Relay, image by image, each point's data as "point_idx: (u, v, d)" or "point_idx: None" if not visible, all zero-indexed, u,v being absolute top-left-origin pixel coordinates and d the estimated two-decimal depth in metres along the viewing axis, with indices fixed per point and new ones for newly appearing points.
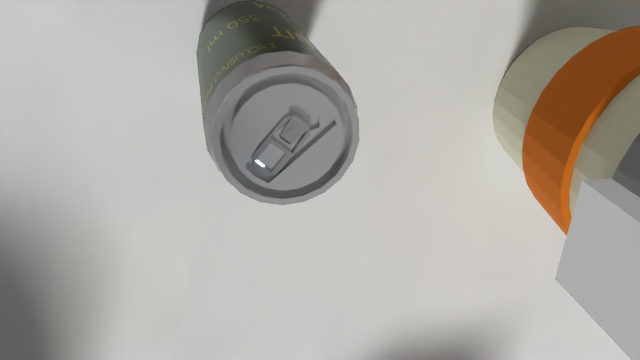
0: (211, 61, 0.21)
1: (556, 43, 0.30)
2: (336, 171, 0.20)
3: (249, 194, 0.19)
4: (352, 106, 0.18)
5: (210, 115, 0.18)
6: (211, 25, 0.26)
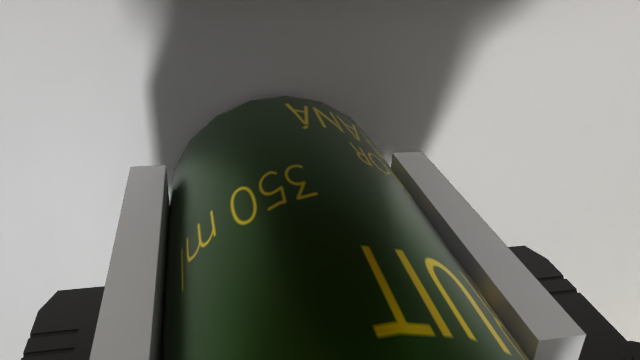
0: None
1: None
2: None
3: None
4: None
5: None
6: (195, 165, 0.11)
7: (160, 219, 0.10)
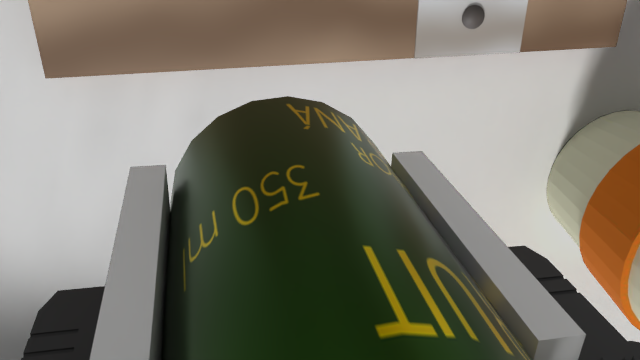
0: None
1: (606, 133, 0.34)
2: None
3: None
4: None
5: None
6: (197, 166, 0.12)
7: (160, 219, 0.10)
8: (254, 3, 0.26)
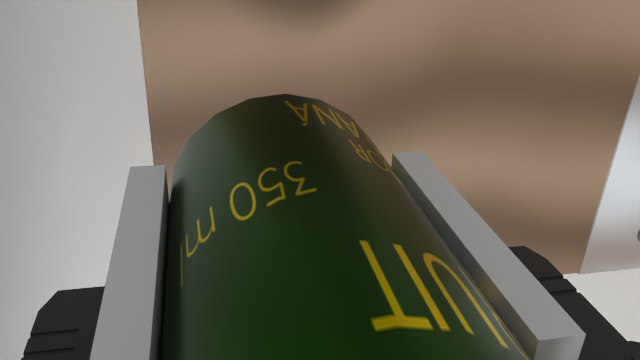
0: (181, 358, 0.07)
1: None
2: None
3: None
4: None
5: None
6: (195, 162, 0.12)
7: (160, 219, 0.10)
8: None
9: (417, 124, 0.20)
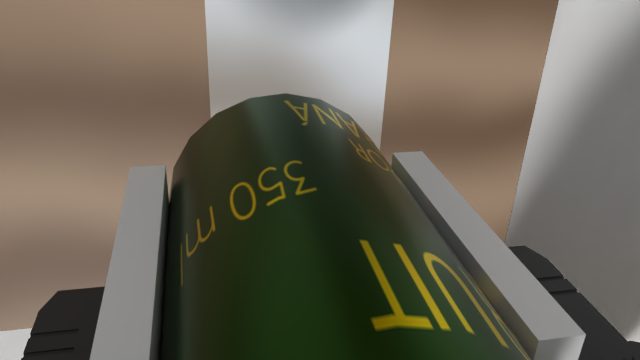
0: (181, 358, 0.07)
1: None
2: None
3: None
4: None
5: None
6: (195, 162, 0.12)
7: (160, 219, 0.10)
8: None
9: None
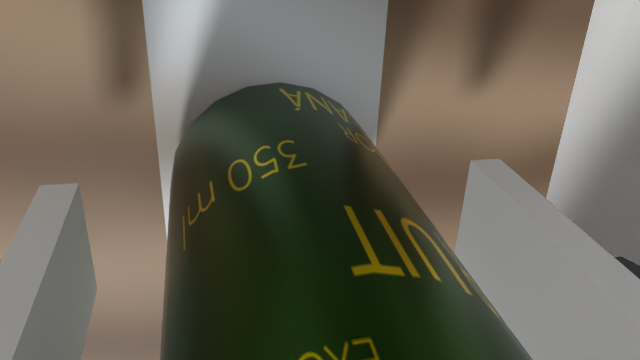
0: (184, 308, 0.08)
1: None
2: None
3: None
4: None
5: None
6: (195, 144, 0.12)
7: (54, 246, 0.10)
8: None
9: None
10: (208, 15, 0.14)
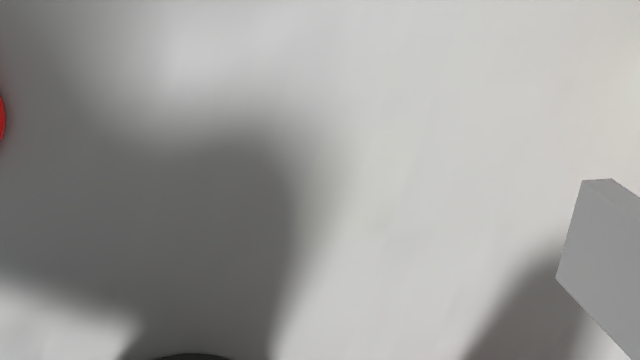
0: None
1: None
2: None
3: None
4: None
5: None
6: None
7: None
8: None
9: None
10: None
